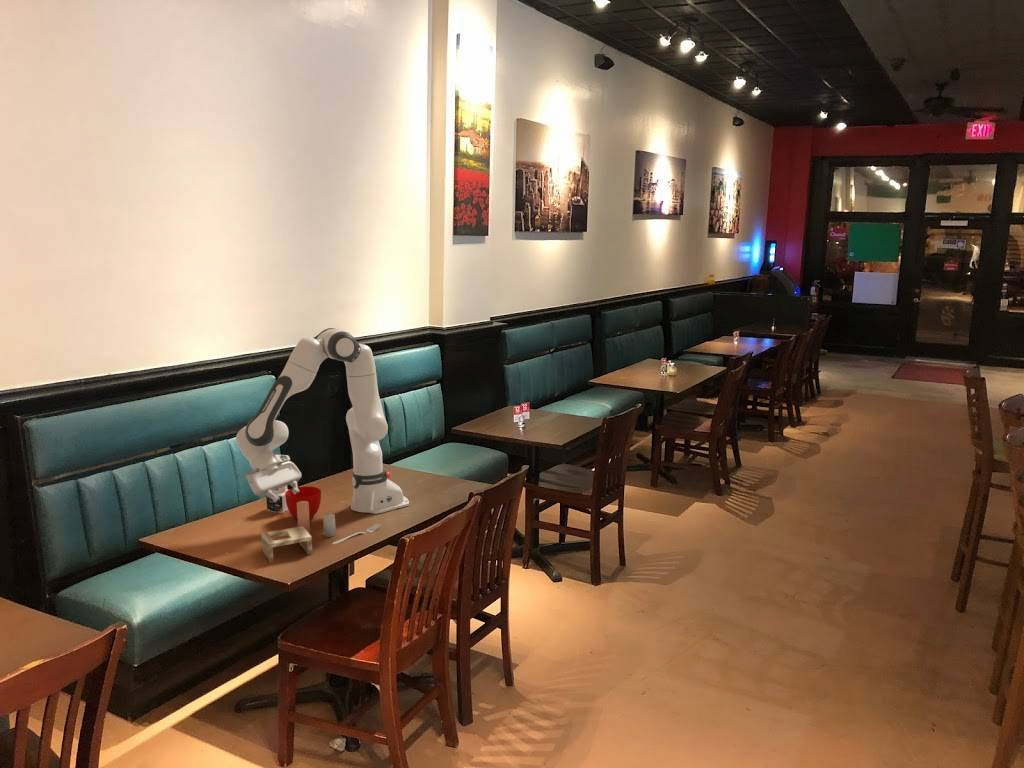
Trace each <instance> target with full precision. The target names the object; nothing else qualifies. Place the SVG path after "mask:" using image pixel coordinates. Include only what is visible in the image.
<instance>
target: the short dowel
mask: <svg viewBox="0 0 1024 768" xmlns="http://www.w3.org/2000/svg"><path fill="white" fill-rule="evenodd" d="M335 517H336V515H335V514H333V513H327V514H324V515H323V517H322V519H323V536H324V537H326V538H331V537H335V536H337V533H336V518H335Z"/></svg>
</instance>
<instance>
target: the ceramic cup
mask: <svg viewBox="0 0 1024 768" xmlns="http://www.w3.org/2000/svg"><path fill="white" fill-rule="evenodd" d="M297 488H298V489H299V493H298V494H294V493H293V492H292V490H293V487H292V488H290V489H287V491H286V493H285V498H286V504H287V508H288V510H287V511H288V512H289V513H290V515H291V516H292V517H293V518H294V519H295V520H297V519H298V517H297V502H300V501H308V502H309V520H311V519H313V518H314V516H315V515H316V514H317V512H319V509H320V506H321V501H322V490H321V488H319V487H317V486H311V485H309V486H307V485H305V486H297ZM312 517H313V518H312ZM310 518H311V519H310Z"/></svg>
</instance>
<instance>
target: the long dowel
mask: <svg viewBox="0 0 1024 768" xmlns="http://www.w3.org/2000/svg"><path fill="white" fill-rule="evenodd" d="M297 517H298V520H297V527H300V526H303V527H304V528H305V529H306V530H307V532H308V533H309V534H310V535H311V524H310V519H309V502H308V501H300V502H297Z"/></svg>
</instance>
